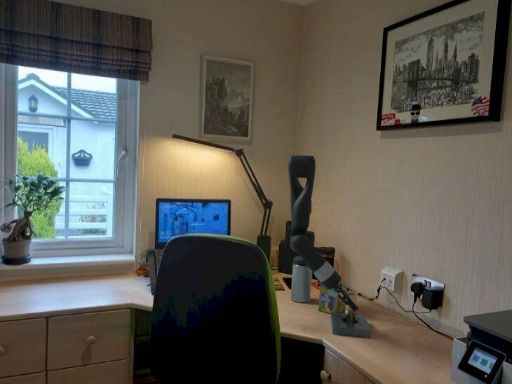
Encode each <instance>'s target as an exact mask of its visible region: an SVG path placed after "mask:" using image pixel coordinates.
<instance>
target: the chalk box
mask: <svg viewBox="0 0 512 384" xmlns="http://www.w3.org/2000/svg"><path fill="white" fill-rule="evenodd" d="M342 285H343V286H344V288H345V289H346V290H347V287H346V285H344V284H342ZM318 295H319V297H318V312H321V311H322V312H321V313H327V314H331V312H335V313H343V312H344V311H345V303H344V302H343V301H342V300H341V298H340V297H338V295H336V293H335V291H334V288H332V289H331V290H327V289H326V288H325V287H324V285H323V284H322V283H321V284H320V285H319V293H318ZM343 310H344V311H343Z"/></svg>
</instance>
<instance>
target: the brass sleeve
mask: <svg viewBox="0 0 512 384" xmlns="http://www.w3.org/2000/svg"><path fill="white" fill-rule="evenodd" d="M348 294H349V297H350V299H352V301H353V302H354V303H355V305H356V306H357V305H358V303H357V302H358V293H355V292H350V291H348ZM346 301H348V299H346ZM357 307H358V306H357ZM344 313H345V314H344V317H345V318H346V319H350V320H354V319H356V315H357V311H355V312H354V311H353V310H352V309H351V308H350V307H349V305H346V304H344Z"/></svg>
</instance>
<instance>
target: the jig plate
mask: <svg viewBox="0 0 512 384" xmlns="http://www.w3.org/2000/svg"><path fill="white" fill-rule="evenodd" d="M344 314H345V312H344V313H343V312H341V313H335V312H331V313H330V326H331V333H332V335H339V336H349V337H358V338H359V337H360V338H365V339H366V338H368V339H371V334H372V332H371V331H372V329H371V327H370V325H369V322H368V320H367V317H366V315H365V314H363V315H362V314H356V319H354V320H350V319H346V318H345V317H344Z"/></svg>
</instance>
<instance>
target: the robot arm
mask: <svg viewBox="0 0 512 384" xmlns="http://www.w3.org/2000/svg"><path fill="white" fill-rule="evenodd" d="M316 167H317V166H316V158H315V156H313V155H303V154H301V155H299V154H297V155H296V154H295V155H290V156H289V158H288V163H287V170H288V179H289V187H290V188H289V189H290V190H289V191H290V193H289V194H290V197H289V199H290V202H289V203H290V218H291V230H290V238H289V239H290V240H289V245H290V246H289V247H290V249H291V250H292V251H293V252H295V253H297V254H298V255H296V256H294V257H293V259H292V273H291V274H292V275H291V290H290V300H291V299H292V300H294V301H293V302H295V301H297V302H296V303H300V302H306V303H309V302H311V294H312V281H313V280H312V279H313V275H314V276H315V278H316V279H317V280H318V281H319V282H320V284H321V285H322V284H323V285H324V287H325V288H326V289H327V290H331V289H332V288H334V291H335V293H336V295H338V297H340V298H341V300H342V301H343V302H344V303H345V304H346V305H349V307H350V308H351V309H352V310H353V311H354V312H355V311H356V312H357V311H358V310H359V307H358V306H356V305H355V303H354V302H353V301H352V299H350V297H349V294H348V292H349V291H348V290H347V288H346V289H345V288H344V286H343V285H344V284H343V283H341V281H342V279H343V277H342V276H341V275H340V274H339V272H337V270H336V269H335V268H334V267H333V266H332V265H331V264H330V263H329V262H328V261H327V260H326V259H325V258H324V257H323V255H321V253H320V252H319V251H318V250H317V249H316V247H315V243H316V235H315V232H314V231H312V230H308V229H309V227H310V217H311V215H312V209H313V208H312V206H313V205H312V196H313V191H314V184H315V176H316ZM299 179H306V181H305V182H306V183H305V185H304V187H303V186H302V184H301V182H300V180H299ZM346 299H348V301H346ZM292 300H291V301H292ZM308 301H309V302H308ZM345 304H344V305H345Z"/></svg>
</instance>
